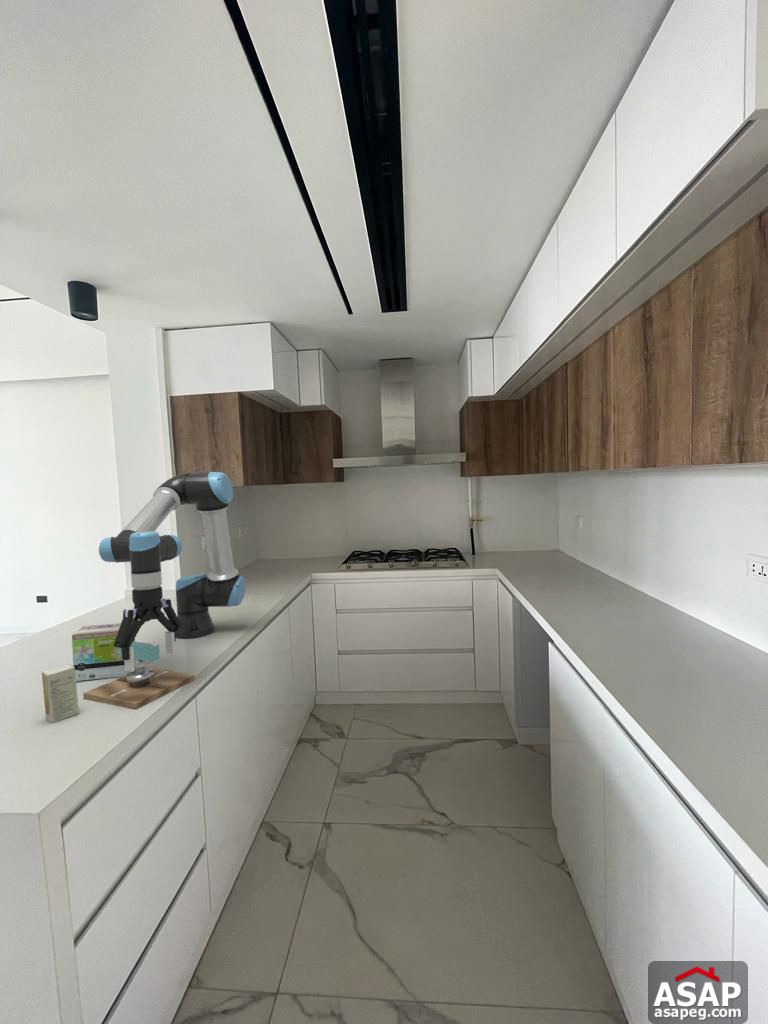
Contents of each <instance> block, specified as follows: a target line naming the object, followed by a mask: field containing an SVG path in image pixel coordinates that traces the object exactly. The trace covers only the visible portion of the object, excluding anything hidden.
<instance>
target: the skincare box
mask: <svg viewBox="0 0 768 1024" xmlns="http://www.w3.org/2000/svg"><path fill="white" fill-rule="evenodd" d="M41 677H42V680H41V681H42V688H43V690H42V691H43V699H44V700H43V701H44V710H45V711H44V712H45V719H46V720H47V721H48V722H49V723H50V724H53V723H55V722H58V721H62V720H64V719H67V718H69V717H73V716H75V715H78V714H79V713H80V712H79V701H78V699H79V698H78V691H77V690H78V689H77V682H76V677H75V667H73V665H72V664H70V663H68V664H65V665H64V664H63V665H61V666H58V667H57V666H56V667H54V668H51V669H47V670H43V671H41Z"/></svg>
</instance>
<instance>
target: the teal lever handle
mask: <svg viewBox="0 0 768 1024" xmlns="http://www.w3.org/2000/svg"><path fill="white" fill-rule="evenodd" d="M130 647H133V652H134V659H135V667H134V669H135V671H133V672H130V673H129V674H127V676H126V677H127V681H128V682H141V681H145V680H148V679H151V678H152V677H154V670H153V669H145V667H146V663H145V662H152V663H153V662H155V661H159V660H160V659H161V654H160V644H158V642H152V643H149V642H148V643H147V642H140V641H135V642H134V641H133V642H132V644H131V646H130ZM119 653H120V657H122V650H121V648H119Z"/></svg>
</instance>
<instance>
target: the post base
mask: <svg viewBox="0 0 768 1024" xmlns="http://www.w3.org/2000/svg"><path fill="white" fill-rule="evenodd" d="M145 669H153V670H154V677H152V678H151V679H148V680H145V681H141V682H128V681H127V677H126V676H127V675H126V676H123V677H117V678H116V679H114V680H112V681H110V682H107V683H105V684H102V685H99V686H98V687H94V688H93V689H90V690H88V691H85V692H83V693H82V697H83V699H84V700H87V701H93V702H98V703H103V704H107V705H111V706H117V707H118V706H119V707H121V706H122V708H126V707H127V708H128V709H131V710H138V709H139V707H140V708H141V707H143V705H144V706H146V705H147V704H149V703H151V702H153V701H155V700H158V699H159V698H161V697H163V696H165V695H167V694H169V693H171V692H174V691H176V690H177V689H179V688H181V687H184V686H185V685H187V684H189V683H190V682H193V681H195V678H196V677H195V674H193V673H192V674H191V673H185V672H179V671H172V670H166V669H161V668H154V667H153V668H152V667H147V666H145Z"/></svg>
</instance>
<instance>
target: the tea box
mask: <svg viewBox="0 0 768 1024" xmlns="http://www.w3.org/2000/svg"><path fill="white" fill-rule="evenodd" d="M120 625H121V623H120V622H119V623H107V624H106V623H105V624H95V625H94V624H93V625H83V626H82V627H80V629H78V630H77V631H75V633H73V634H72V635H71V640H72V641H71V642H72V643H71V646H72V661H73V662H72V664H73V665H72V666H73V667H75V677H76V683H77V682H82V681H91V680H98V679H99V680H100V679H109V678H121V677H123V676H126V675H127V674H129V673H130V671H125V663H124V660H123V659H122V657H120V653H119V648H118V647H114V642H115V639H116V637H117V634H118V631H119V628H120ZM133 641H134V642H136V638H135V639H134V640H133ZM134 668H135V659H134Z"/></svg>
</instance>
